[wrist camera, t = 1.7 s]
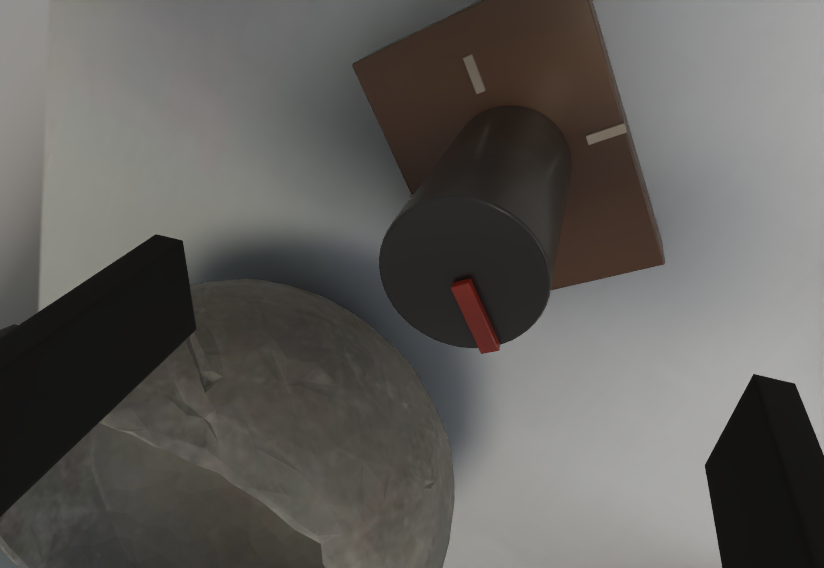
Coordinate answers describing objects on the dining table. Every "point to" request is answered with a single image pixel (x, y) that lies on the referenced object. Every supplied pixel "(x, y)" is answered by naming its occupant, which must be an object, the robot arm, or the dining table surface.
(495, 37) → the panel
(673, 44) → the dining table surface
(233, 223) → the dining table surface
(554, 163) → the dial
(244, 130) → the dining table surface
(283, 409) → the bowl
